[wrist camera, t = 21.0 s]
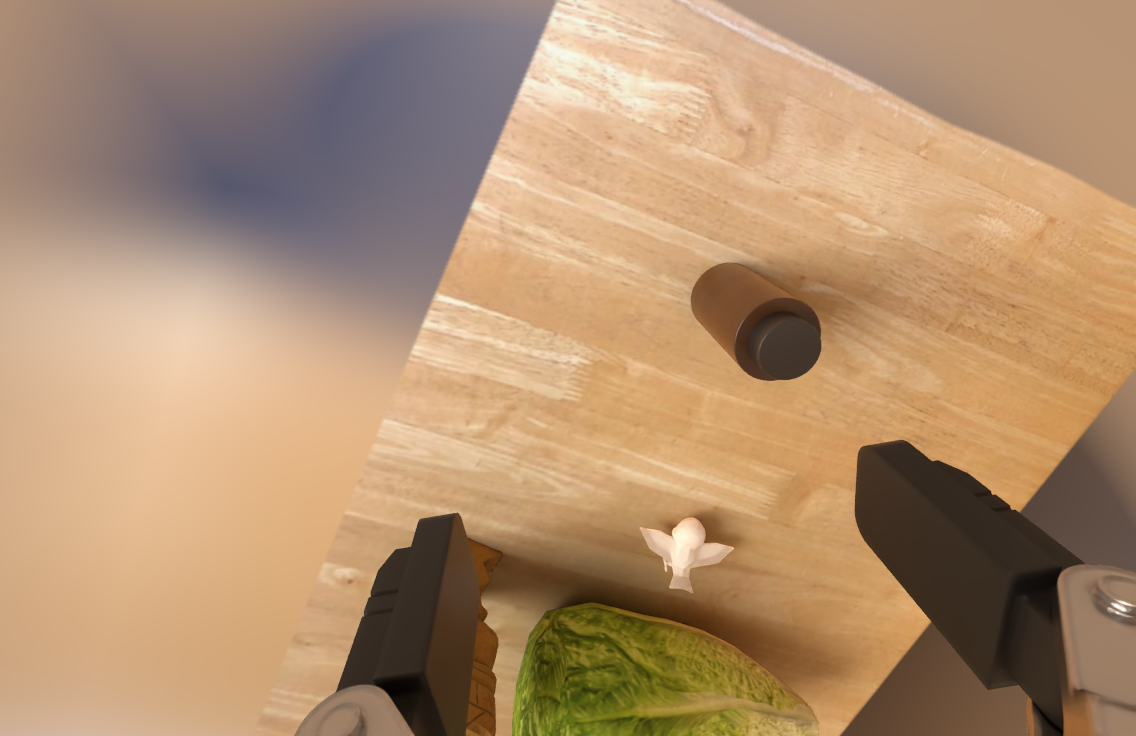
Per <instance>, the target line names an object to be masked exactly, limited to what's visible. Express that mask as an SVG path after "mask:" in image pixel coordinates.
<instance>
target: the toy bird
mask: <svg viewBox="0 0 1136 736" xmlns="http://www.w3.org/2000/svg"><path fill="white" fill-rule="evenodd" d="M639 528H640V530H641V532H642V534H643V537H644V539H645V541H646V543H647V545H648V547H649V549H650V550H652V551H653V552H655V553H656V554H658V555H660V556H661V557H663V561H664V565H665V572H667V565H668V566H671V567H672V569H673V574H674V575H673V577H672V580H671V583H670V586H669V588H671V589H683V590H686V591H689V592H691V593H693V590H692V587H691V583H690V580H689V574H690V569H691V568H695V567H699V566H705V565H712V564H718V563H719V562H720V561H721V560H722V559H723V558H724V557H726V556H727V555H728V554H729V553H730V552H731V551H732V550H733V549H734V548H735V547H730V546H726V545H722V544H719V543H714V542H712V543H704V540H705V537H706V533H705V529H704V527H703V526H702V524H701V523H700V522H699V521H698V520H697V519H696V518H694V517H689V518H686V519H684V520H682V521H681V522H680V523H679V524H678V525H677V527H675V528H673V530H672V536H673V537H672V536H669V535H667V534H665V533H663V532H661V531H659V530H653V529H647V528H642V527H639ZM667 561H668V562H669V563H668V562H667Z"/></svg>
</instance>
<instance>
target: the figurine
mask: <svg viewBox="0 0 1136 736" xmlns="http://www.w3.org/2000/svg"><path fill="white" fill-rule="evenodd" d="M468 543H469V547H470V550H471V554H472V557H473V561H474V565H475V568H476V572H477V577H478V583H479V596H481V594H482V592H483V591H484V589H485V588H486V586H487V585H488V583H489V582H490V580H491V579H490V577H489V575H488V573H489V572H492V571H493V568H494V567H495V566H497V563H498V562H499V561H500V559H501V557H502V553H501V552H498V551H495V550H493V549H491V548H489V547H486V546H484V545H481V544H479V543H476V542H474V541H471V540H469V539H468ZM487 614H488V613H487V611H486V610H485V608H484V607H483V606H482V604H481V598H480V601H479V613H478V623H477V632H476V641H475V651H474V660H473V670H472V679H471V688H470V698H469V707H468V717H467V726H466V735H465V736H495V733H496V714H495V698H494V694H495V688H496V680H497V679H496V677H495V675H494V673H493V672H492V669H493V665H494V662H495V658H496V653H497V649H498V638H497V635H496V634H495V632H494V631H493V630H492V629H491V628H490V627H489V626H488V625H487V624H486V623H485V622H483V621H484V620H485V618H486V617H487Z"/></svg>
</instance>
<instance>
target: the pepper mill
mask: <svg viewBox="0 0 1136 736" xmlns="http://www.w3.org/2000/svg"><path fill="white" fill-rule="evenodd" d="M691 306H692V311H693V313H694V315H695V317H696V319H697V320H698V321H699V322H700V323H701V324H702V326H703V327H704V328H705V329H706V330H707V331H708V332H709V333H710V334H711V335H712V337H713V338H714V339H715V340H716V341H717V342H718V343H719V344H720V345H721V346H722V347H723V349H724V350H725V351H726V352H727V353H728V354H729V355H730V356H731V357H732V358H733V359H734V361H735V362H736V363H737V364H738V365H739V366H740V367H741V368H742V369H743V370H744V371H745V372H746V373H747V374H748V375H750V376H752V377H754V378H757V379H760V380H766V381H775V380H790V379H794V378H797V377H800V376H801V375H803V374H805V373H806V372H808V371H809V370H810V369H811V368H812V367H813V366H814V364H815V363H816V361H817V360H818V358H819V355H820V352H821V338H820V337H821V329H820V323H819V320H818V317H817V315H816V314H815V312H814V311H813V310H812V308H811V307H809V306H808V305H807V304H805V303H804V302H802V301H801V300H799V299H797V298H796V297H794V296H792V295H791V294H789V293H787V292H786V291H784V290H782V289H781V288H779V287H778V286H776V285H774V284H773V283H771V282H769V281H768V280H766V279H764V278H763V277H761V276H759V275H758V274H756V273H754V272H753V271H751V270H749V269H748V268H746V267H745V266H742V265H740V264H736V263H724V264H720V265H717V266H714V267H712V268H711V269H709V270H707V271H706V272H705V273H704V274H703V275H702V276H701V277H700V278H699V279H698V281H697V282H696V284H695V286H694V288H693V291H692V296H691Z"/></svg>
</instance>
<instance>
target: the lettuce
mask: <svg viewBox="0 0 1136 736" xmlns="http://www.w3.org/2000/svg"><path fill="white" fill-rule="evenodd" d="M512 736H819V722H818V720H817V718H816V716H815V714H814V712H813V710H812V708H811V707H810V706H809V705H808V704H807V703H806V702H805V701H804V700H803V699H802V698H801V697H800V696H799V695H798V694H797V693H795V692H794V691H793V690H792V689H791V688H790V687H788V686H787V685H786V684H785V683H784V682H782V681H781V680H780V679H778V678H777V677H776V676H774V675H773V674H772V673H770V672H769V671H768V670H767V669H765V668H764V667H762V666H761V665H760V664H758V663H757V662H755V661H754V660H753V659H751V658H750V657H748V656H747V655H746V654H744V653H743V652H741V651H740V650H739V649H737V648H736V647H734V646H733V645H731V644H730V643H728V642H726V641H724V640H722V639H720V638H718V637H716V636H714V635H712V634H710V633H708V632H706V631H704V630H701V629H698V628H695V627H691V626H688V625H685V624H681V623H678V622H675V621H672V620H668V619H664V618H658V617H653V616H647V615H642V614H638V613H635V612H631V611H627V610H623V609H620V608H615V607H611V606H606V605H602V604H598V603H593V602H590V603H585V604H580V605H575V606H570V607H565V608H560V609H555V610H550V611H547V612H546V613H545V614H544V616H543V617H542V618H541V620H540V621H539V622H538V624H537V625H536V626H535V628H534V629H533V630H532V632H531V633H530V635H529V638H528V642H527V646H526V649H525V653H524V656H523V660H522V664H521V668H520V672H519V676H518V680H517V685H516V692H515V699H514V709H513V722H512Z"/></svg>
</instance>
